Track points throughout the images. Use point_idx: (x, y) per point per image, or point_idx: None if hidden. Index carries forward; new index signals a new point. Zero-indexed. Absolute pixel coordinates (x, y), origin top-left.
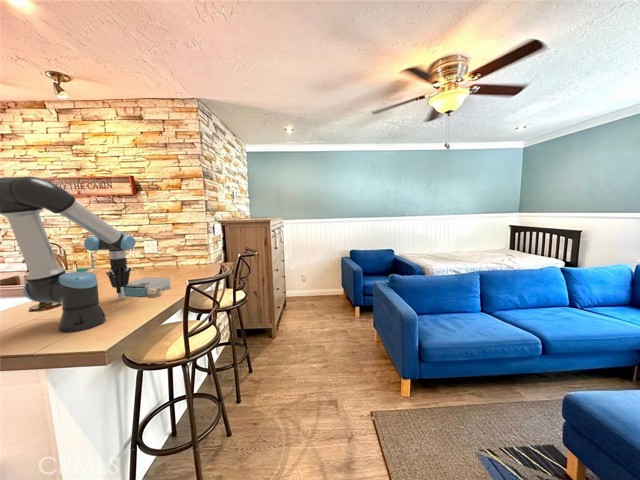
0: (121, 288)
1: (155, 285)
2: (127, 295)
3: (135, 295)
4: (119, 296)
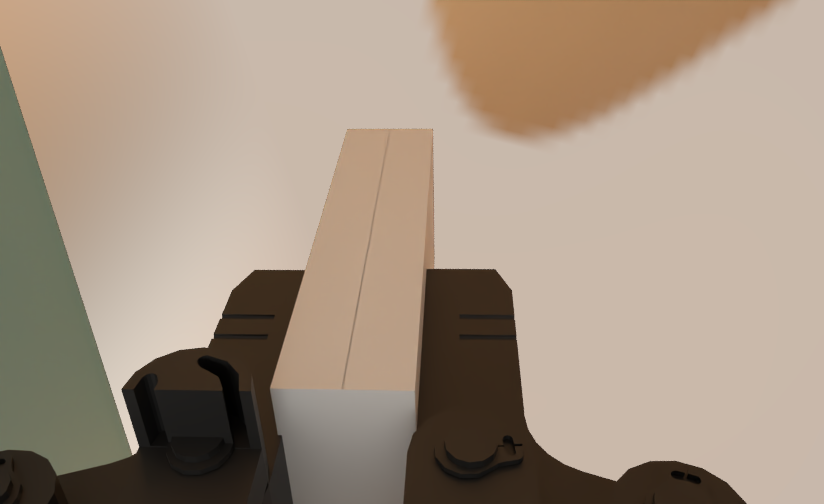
0: (403, 357)
1: None
2: (95, 341)
3: (4, 92)
4: (432, 252)
